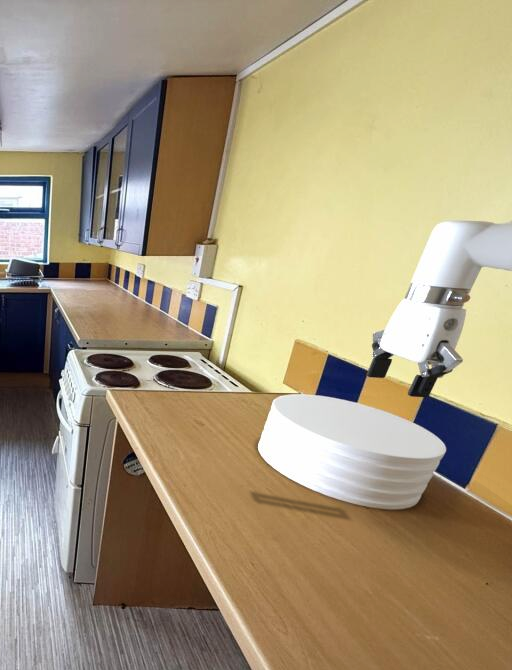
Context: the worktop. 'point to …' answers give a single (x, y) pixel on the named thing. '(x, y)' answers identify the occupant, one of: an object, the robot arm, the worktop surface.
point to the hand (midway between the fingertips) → (395, 386)
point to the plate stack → (350, 450)
